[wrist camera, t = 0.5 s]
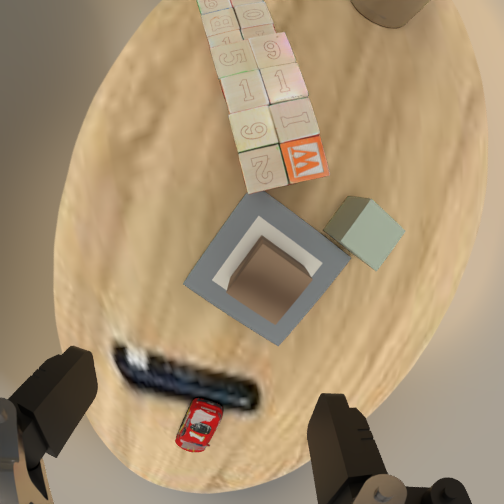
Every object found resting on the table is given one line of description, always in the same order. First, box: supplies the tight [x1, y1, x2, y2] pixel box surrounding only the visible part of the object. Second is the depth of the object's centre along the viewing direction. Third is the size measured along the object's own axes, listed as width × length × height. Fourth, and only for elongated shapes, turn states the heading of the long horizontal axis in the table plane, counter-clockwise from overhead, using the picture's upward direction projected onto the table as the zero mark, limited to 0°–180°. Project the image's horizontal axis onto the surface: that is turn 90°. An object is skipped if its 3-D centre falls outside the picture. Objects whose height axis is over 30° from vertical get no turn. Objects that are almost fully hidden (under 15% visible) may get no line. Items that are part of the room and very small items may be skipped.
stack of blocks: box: [197, 0, 330, 194], centre depth 24 cm, size 21×6×12 cm, turn 14°
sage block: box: [323, 196, 405, 271], centre depth 29 cm, size 5×5×7 cm
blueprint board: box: [183, 191, 351, 346], centre depth 31 cm, size 14×14×6 cm
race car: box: [175, 398, 223, 452], centre depth 38 cm, size 13×5×4 cm, turn 156°
